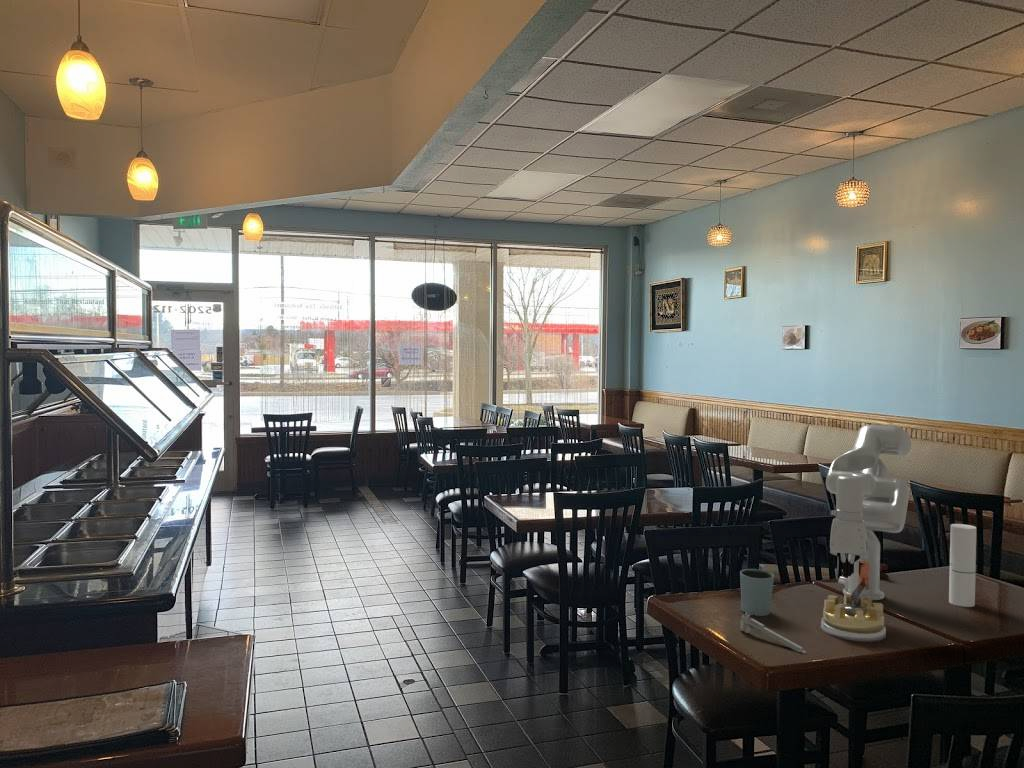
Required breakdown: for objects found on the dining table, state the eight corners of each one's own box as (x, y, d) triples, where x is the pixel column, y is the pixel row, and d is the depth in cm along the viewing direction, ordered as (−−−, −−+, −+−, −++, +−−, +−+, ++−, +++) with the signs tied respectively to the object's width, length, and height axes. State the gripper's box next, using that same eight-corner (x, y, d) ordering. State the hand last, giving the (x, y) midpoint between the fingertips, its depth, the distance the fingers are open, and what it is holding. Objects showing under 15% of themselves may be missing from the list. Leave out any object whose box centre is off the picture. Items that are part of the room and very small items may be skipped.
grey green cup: (745, 604, 240) (746, 567, 239) (777, 610, 234) (778, 572, 233) (734, 612, 231) (735, 574, 231) (768, 619, 225) (768, 580, 225)
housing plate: (808, 627, 219) (808, 620, 219) (843, 617, 228) (843, 610, 228) (863, 646, 204) (863, 638, 204) (898, 634, 214) (898, 627, 214)
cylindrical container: (967, 600, 245) (969, 524, 244) (979, 607, 238) (980, 529, 237) (944, 599, 245) (946, 523, 245) (955, 606, 238) (957, 528, 238)
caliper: (740, 632, 215) (740, 611, 215) (742, 631, 216) (742, 610, 216) (804, 655, 199) (805, 631, 198) (807, 654, 199) (807, 630, 199)
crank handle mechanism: (802, 610, 227) (803, 563, 227) (864, 606, 231) (865, 560, 231) (845, 634, 207) (846, 583, 206) (911, 630, 210) (913, 579, 210)
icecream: (844, 554, 278) (880, 567, 265) (858, 547, 281) (894, 560, 268) (846, 571, 280) (881, 585, 266) (860, 564, 283) (895, 578, 269)
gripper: (820, 515, 231) (819, 573, 232) (873, 521, 223) (872, 582, 223) (826, 511, 237) (825, 568, 238) (878, 516, 229) (877, 576, 229)
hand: (848, 575), depth 231 cm, fingers closed
